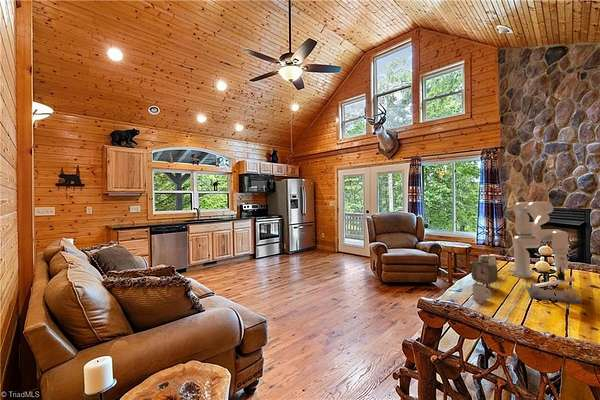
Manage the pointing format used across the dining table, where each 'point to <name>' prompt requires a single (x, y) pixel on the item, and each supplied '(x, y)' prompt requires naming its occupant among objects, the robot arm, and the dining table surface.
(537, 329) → the dining table surface
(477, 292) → the grey rounded lump
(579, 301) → the clamp plate
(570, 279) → the hold down bar
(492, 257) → the candy bar box
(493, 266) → the tabletop clock
